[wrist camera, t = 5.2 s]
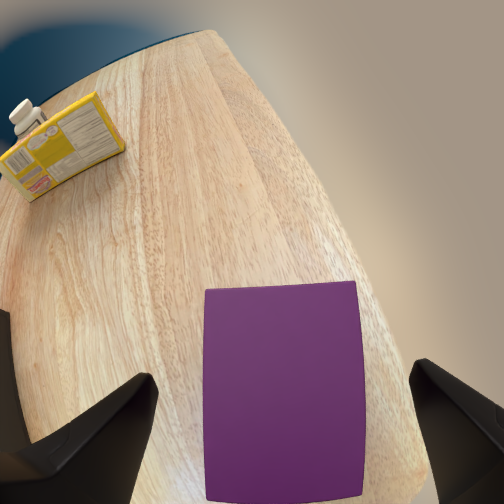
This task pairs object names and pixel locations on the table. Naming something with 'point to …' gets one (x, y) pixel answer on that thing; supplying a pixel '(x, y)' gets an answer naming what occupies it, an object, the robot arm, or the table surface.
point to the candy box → (62, 147)
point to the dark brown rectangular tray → (9, 395)
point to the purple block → (283, 394)
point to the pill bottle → (26, 118)
